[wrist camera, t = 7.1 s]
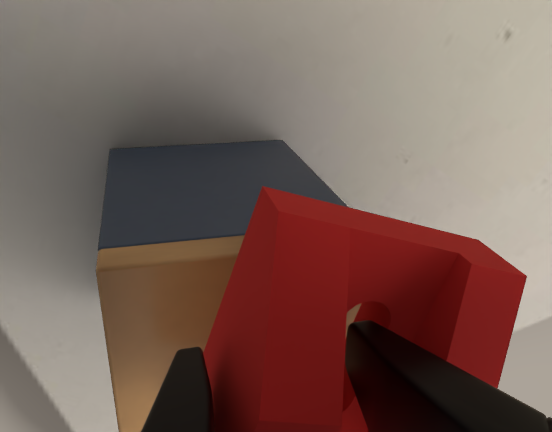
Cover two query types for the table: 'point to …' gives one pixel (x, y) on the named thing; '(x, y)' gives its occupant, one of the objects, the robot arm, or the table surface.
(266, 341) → the bracket
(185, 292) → the board
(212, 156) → the blue box
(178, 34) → the table surface
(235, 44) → the table surface
